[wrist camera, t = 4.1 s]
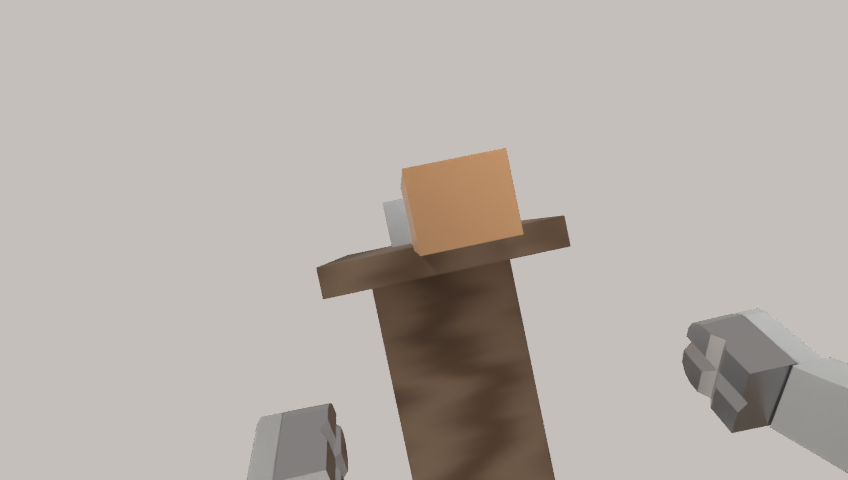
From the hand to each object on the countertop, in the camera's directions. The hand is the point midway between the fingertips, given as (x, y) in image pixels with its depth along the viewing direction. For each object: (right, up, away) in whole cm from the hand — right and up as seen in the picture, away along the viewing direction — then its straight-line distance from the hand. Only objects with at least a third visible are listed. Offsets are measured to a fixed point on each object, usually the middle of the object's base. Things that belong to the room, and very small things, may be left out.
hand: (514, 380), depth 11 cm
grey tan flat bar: (-1, +3, +14) cm, 15 cm away
